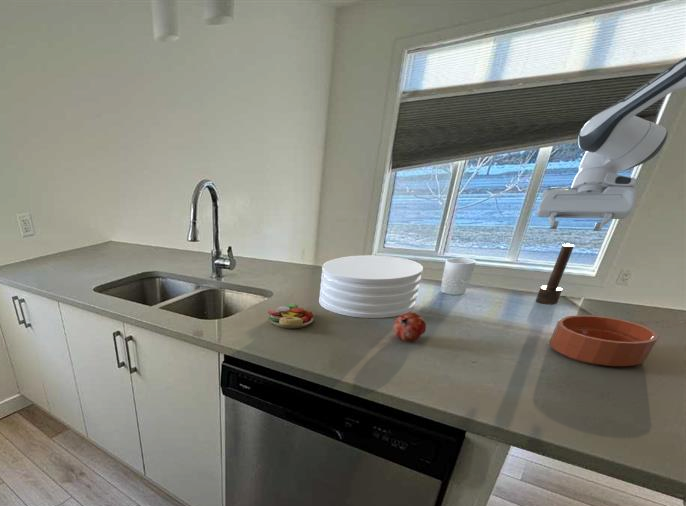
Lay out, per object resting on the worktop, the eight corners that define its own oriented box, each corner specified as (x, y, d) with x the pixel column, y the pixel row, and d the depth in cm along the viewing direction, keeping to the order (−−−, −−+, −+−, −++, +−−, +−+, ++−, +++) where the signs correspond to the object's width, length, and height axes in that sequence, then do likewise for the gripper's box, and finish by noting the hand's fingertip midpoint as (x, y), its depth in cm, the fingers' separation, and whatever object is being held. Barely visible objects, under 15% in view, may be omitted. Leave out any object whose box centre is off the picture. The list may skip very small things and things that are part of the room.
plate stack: (374, 325, 113) (381, 285, 107) (300, 301, 134) (303, 267, 129) (434, 302, 124) (443, 265, 118) (357, 283, 146) (362, 251, 140)
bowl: (617, 340, 95) (629, 316, 92) (662, 372, 82) (678, 345, 79) (536, 337, 99) (545, 314, 96) (567, 366, 87) (579, 341, 84)
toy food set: (290, 334, 113) (291, 323, 111) (258, 321, 123) (258, 311, 121) (322, 321, 119) (324, 311, 117) (289, 310, 128) (289, 300, 127)
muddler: (552, 299, 119) (575, 243, 111) (560, 304, 115) (584, 246, 107) (532, 298, 120) (553, 243, 112) (539, 304, 117) (561, 247, 109)
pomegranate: (399, 339, 109) (379, 324, 104) (420, 317, 107) (400, 300, 102) (419, 353, 103) (398, 337, 99) (441, 330, 101) (421, 313, 96)
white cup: (451, 286, 135) (459, 256, 130) (473, 292, 129) (482, 261, 124) (432, 290, 133) (439, 260, 128) (453, 297, 127) (462, 265, 122)
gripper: (546, 180, 121) (530, 220, 120) (645, 178, 108) (628, 223, 107) (542, 194, 126) (527, 233, 125) (637, 194, 113) (620, 237, 112)
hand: (574, 229), depth 116 cm, fingers open, 8 cm apart
